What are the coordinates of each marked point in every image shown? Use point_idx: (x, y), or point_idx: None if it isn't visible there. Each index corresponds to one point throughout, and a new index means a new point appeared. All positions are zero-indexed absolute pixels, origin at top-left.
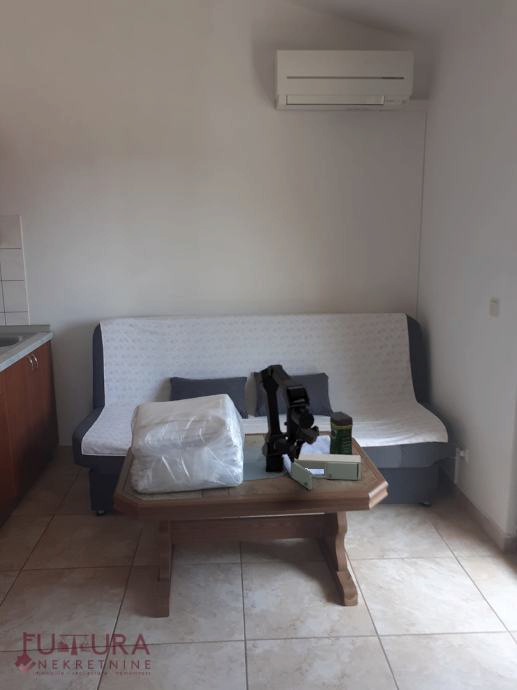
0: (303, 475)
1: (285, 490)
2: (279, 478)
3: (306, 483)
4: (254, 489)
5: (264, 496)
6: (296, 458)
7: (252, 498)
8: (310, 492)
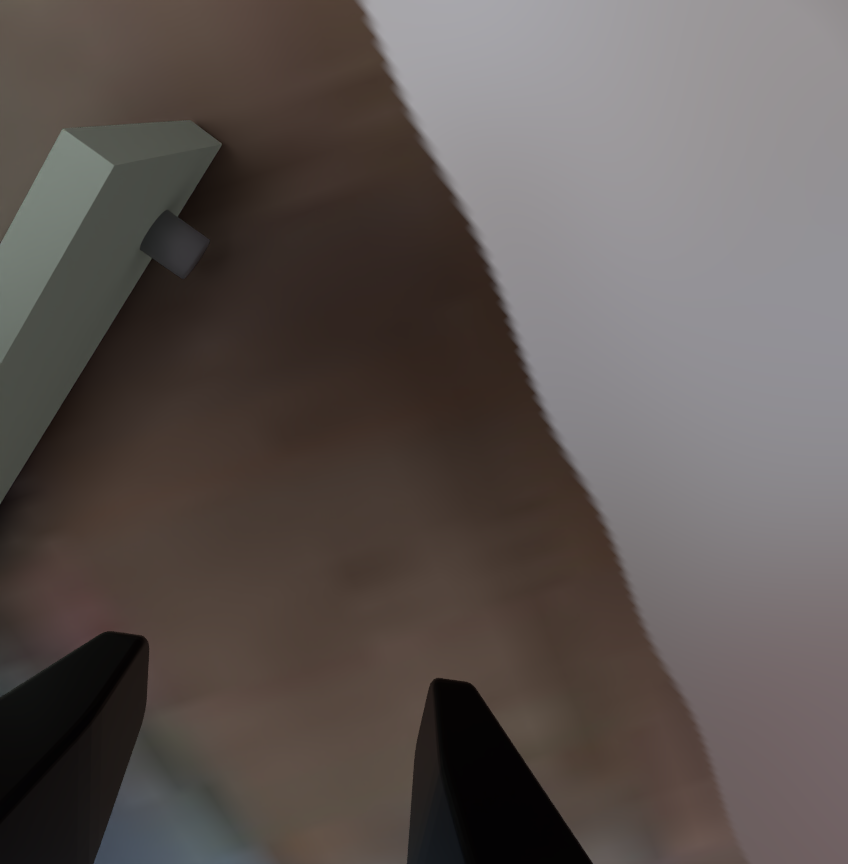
0: (63, 332)
1: (373, 478)
2: None
3: (169, 224)
4: None
5: (615, 650)
6: (137, 697)
7: (697, 742)
8: (284, 108)
